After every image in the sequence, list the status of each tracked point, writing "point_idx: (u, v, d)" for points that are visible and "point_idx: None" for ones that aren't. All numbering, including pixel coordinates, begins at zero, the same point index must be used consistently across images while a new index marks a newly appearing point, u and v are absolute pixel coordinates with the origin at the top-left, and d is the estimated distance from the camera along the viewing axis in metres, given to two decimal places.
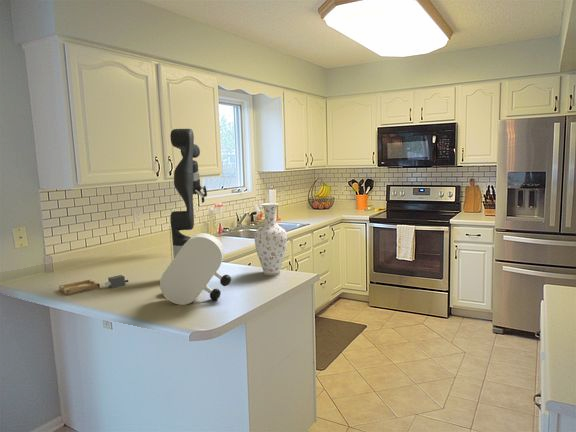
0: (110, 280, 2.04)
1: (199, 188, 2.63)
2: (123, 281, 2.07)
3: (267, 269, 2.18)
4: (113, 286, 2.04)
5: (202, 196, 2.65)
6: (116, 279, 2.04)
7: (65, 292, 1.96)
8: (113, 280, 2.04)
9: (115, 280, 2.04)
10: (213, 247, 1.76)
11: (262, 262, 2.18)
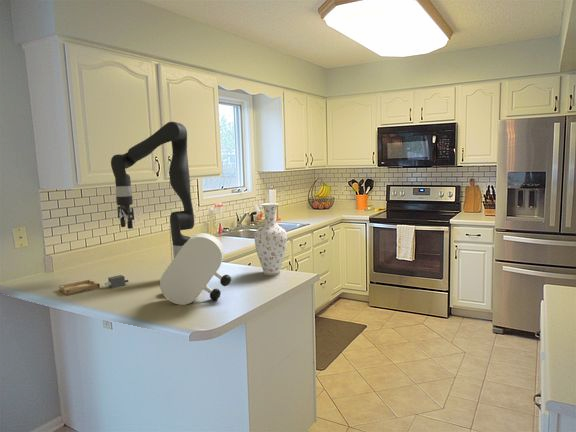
0: (110, 280, 2.04)
1: None
2: (123, 281, 2.07)
3: (267, 269, 2.18)
4: (113, 286, 2.04)
5: (124, 217, 2.24)
6: (116, 279, 2.04)
7: (65, 292, 1.96)
8: (113, 280, 2.04)
9: (115, 280, 2.04)
10: (213, 247, 1.76)
11: (262, 262, 2.18)
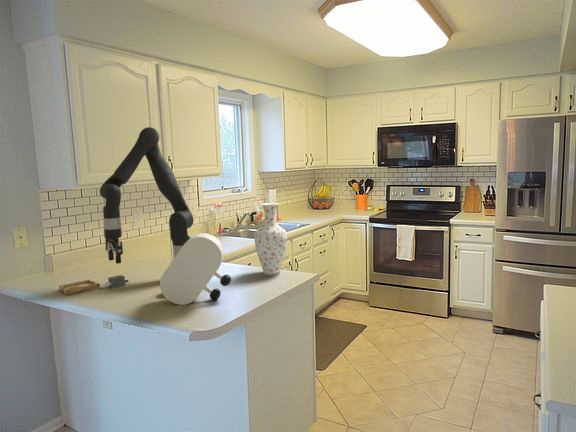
0: (110, 280, 2.04)
1: None
2: (123, 281, 2.07)
3: (267, 269, 2.18)
4: (113, 286, 2.04)
5: (113, 250, 2.10)
6: (116, 279, 2.04)
7: (65, 292, 1.96)
8: (113, 280, 2.04)
9: (115, 280, 2.04)
10: (213, 247, 1.76)
11: (262, 262, 2.18)
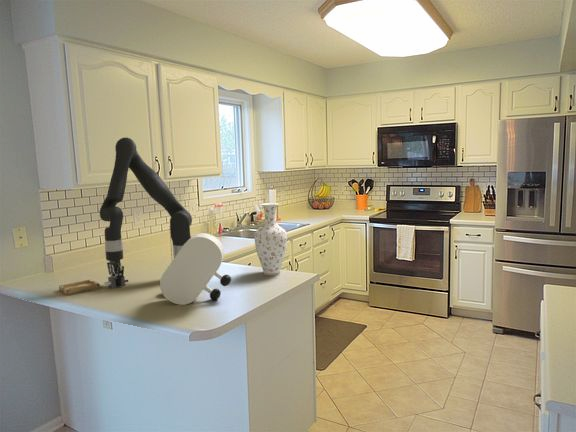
0: (110, 280, 2.04)
1: None
2: (123, 281, 2.07)
3: (267, 269, 2.18)
4: (113, 286, 2.04)
5: None
6: None
7: (65, 292, 1.96)
8: (113, 280, 2.03)
9: (115, 280, 2.04)
10: (213, 247, 1.76)
11: (262, 262, 2.18)
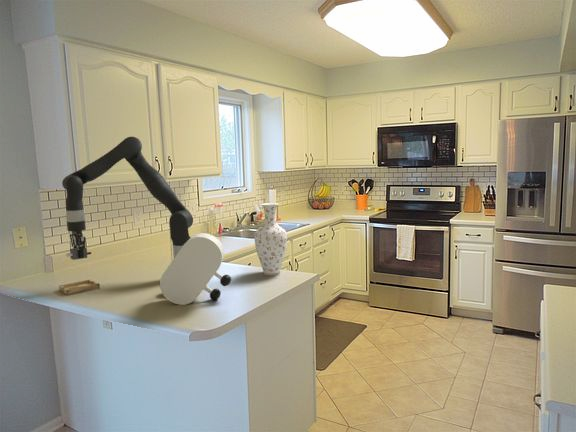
0: (71, 251, 1.99)
1: None
2: (85, 253, 2.02)
3: (267, 269, 2.18)
4: (74, 257, 1.99)
5: None
6: None
7: (65, 292, 1.96)
8: (74, 251, 1.98)
9: (76, 251, 1.99)
10: (213, 247, 1.76)
11: (262, 262, 2.18)
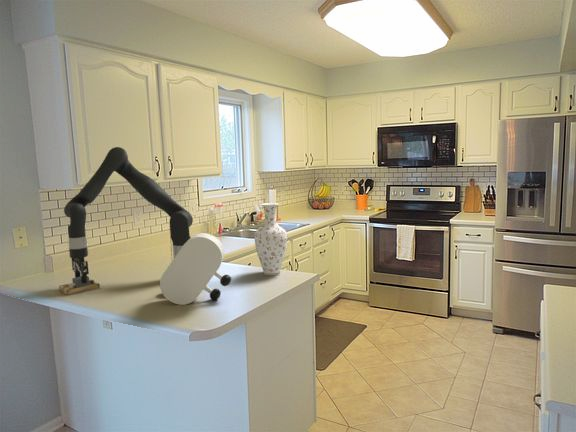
0: (74, 281, 2.01)
1: None
2: (88, 281, 2.03)
3: (267, 269, 2.18)
4: (77, 287, 2.00)
5: None
6: (80, 280, 2.01)
7: (65, 292, 1.96)
8: (77, 281, 2.00)
9: (79, 281, 2.01)
10: (213, 247, 1.76)
11: (262, 262, 2.18)
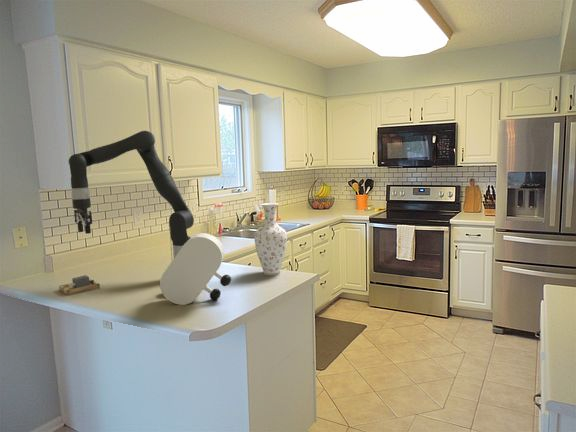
0: (74, 281, 2.01)
1: None
2: (88, 281, 2.03)
3: (267, 269, 2.18)
4: (77, 287, 2.00)
5: (82, 221, 2.09)
6: (80, 280, 2.01)
7: (65, 292, 1.96)
8: (77, 281, 2.00)
9: (79, 281, 2.01)
10: (213, 247, 1.76)
11: (262, 262, 2.18)
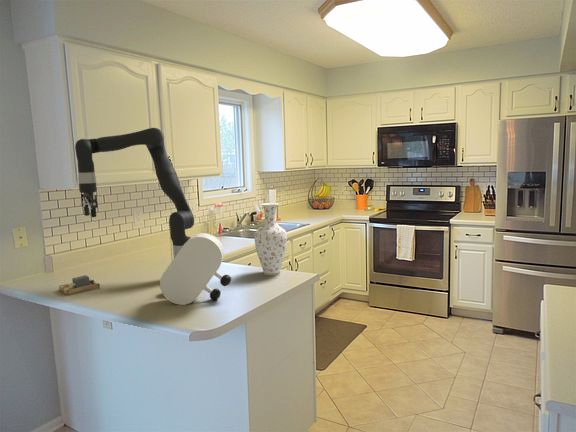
0: (74, 281, 2.01)
1: None
2: (88, 281, 2.03)
3: (267, 269, 2.18)
4: (77, 287, 2.00)
5: (88, 205, 2.14)
6: (80, 280, 2.01)
7: (65, 292, 1.96)
8: (77, 281, 2.00)
9: (79, 281, 2.01)
10: (213, 247, 1.76)
11: (262, 262, 2.18)
